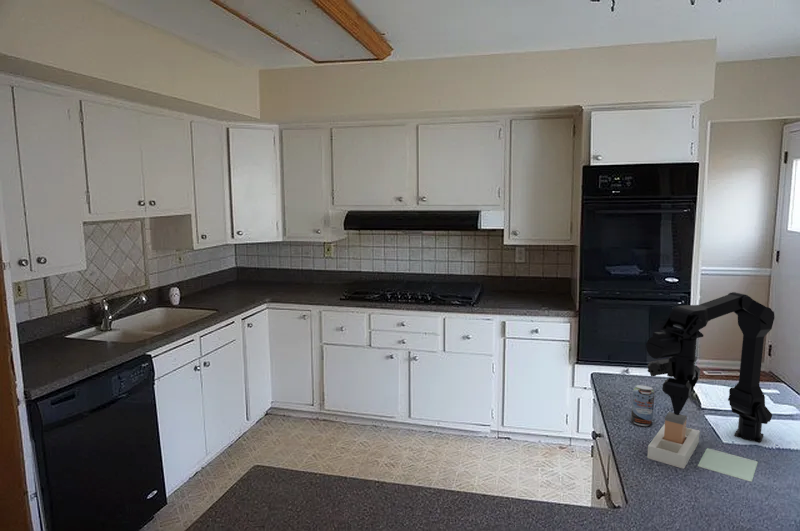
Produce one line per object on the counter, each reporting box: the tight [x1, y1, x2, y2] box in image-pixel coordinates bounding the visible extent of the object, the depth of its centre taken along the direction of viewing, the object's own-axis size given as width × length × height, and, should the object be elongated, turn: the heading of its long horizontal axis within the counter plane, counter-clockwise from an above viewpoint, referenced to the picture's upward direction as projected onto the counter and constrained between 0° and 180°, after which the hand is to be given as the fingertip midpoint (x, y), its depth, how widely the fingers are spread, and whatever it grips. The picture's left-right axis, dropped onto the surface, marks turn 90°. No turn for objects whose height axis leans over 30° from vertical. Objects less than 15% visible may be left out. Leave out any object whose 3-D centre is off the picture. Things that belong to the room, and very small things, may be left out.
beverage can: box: [630, 384, 655, 427], centre depth 166 cm, size 6×7×12 cm
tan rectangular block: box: [664, 411, 688, 444], centre depth 149 cm, size 5×5×10 cm
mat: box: [697, 447, 759, 483], centre depth 142 cm, size 12×12×1 cm
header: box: [646, 423, 701, 469], centre depth 150 cm, size 18×9×4 cm, turn 140°
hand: (679, 408), depth 147 cm, fingers open, 9 cm apart
